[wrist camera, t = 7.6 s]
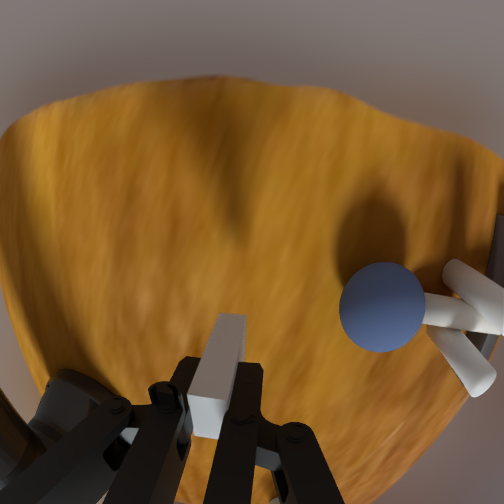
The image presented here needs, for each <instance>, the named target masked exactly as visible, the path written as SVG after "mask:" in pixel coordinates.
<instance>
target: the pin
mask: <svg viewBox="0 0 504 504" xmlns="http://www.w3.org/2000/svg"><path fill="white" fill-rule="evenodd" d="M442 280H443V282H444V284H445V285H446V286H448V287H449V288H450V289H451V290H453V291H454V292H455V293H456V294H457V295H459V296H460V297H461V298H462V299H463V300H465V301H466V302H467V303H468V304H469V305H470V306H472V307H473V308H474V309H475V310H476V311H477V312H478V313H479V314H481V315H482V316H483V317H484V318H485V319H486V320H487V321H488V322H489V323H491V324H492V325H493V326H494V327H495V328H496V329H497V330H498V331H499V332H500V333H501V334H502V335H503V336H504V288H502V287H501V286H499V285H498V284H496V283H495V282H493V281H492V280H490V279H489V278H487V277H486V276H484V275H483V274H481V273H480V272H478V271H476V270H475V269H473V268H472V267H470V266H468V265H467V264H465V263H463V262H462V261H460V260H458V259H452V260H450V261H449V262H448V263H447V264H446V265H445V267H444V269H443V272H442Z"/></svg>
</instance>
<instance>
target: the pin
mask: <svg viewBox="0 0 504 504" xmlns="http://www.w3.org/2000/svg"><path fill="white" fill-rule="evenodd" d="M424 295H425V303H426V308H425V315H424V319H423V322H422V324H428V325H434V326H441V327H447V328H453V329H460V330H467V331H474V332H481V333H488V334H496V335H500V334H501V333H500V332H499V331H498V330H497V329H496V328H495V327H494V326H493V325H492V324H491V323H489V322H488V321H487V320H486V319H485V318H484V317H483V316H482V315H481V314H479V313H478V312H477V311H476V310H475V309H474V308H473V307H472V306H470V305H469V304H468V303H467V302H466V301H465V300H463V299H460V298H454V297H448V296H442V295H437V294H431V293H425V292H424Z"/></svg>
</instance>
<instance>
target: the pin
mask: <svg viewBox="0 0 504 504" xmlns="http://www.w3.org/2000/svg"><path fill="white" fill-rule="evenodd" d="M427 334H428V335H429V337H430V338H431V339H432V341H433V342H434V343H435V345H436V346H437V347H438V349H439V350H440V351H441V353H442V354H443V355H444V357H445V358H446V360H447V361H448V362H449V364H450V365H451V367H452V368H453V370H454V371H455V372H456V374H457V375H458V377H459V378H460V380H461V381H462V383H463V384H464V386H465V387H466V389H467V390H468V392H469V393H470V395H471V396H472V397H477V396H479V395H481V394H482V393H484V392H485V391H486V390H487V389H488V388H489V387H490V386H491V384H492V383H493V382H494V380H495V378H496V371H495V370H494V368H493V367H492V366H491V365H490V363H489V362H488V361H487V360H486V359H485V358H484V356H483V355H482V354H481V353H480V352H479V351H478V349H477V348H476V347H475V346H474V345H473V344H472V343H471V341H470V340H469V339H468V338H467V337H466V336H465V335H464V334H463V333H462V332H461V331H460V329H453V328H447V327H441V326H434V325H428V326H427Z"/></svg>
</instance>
